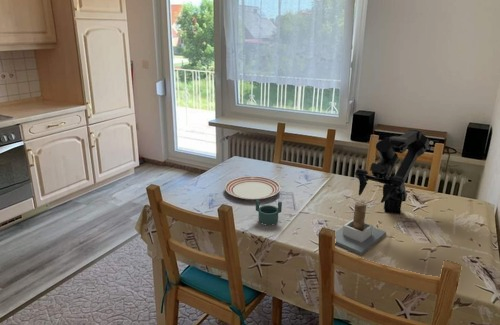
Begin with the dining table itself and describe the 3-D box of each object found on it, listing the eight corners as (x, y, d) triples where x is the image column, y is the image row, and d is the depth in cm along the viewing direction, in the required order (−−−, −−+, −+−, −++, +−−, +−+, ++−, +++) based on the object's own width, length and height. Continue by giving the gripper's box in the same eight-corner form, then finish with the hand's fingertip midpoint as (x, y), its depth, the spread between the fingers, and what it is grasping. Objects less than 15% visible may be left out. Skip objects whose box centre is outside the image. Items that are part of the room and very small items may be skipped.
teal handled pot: (283, 222, 150) (283, 202, 148) (264, 227, 146) (265, 207, 143) (270, 213, 158) (271, 194, 155) (252, 218, 153) (253, 199, 150)
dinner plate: (272, 207, 163) (272, 201, 162) (216, 199, 171) (216, 192, 170) (285, 185, 188) (286, 179, 187) (236, 179, 196) (236, 173, 195)
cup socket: (353, 222, 150) (354, 211, 149) (385, 234, 141) (387, 222, 140) (326, 240, 137) (328, 228, 135) (361, 255, 128) (362, 242, 126)
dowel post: (359, 231, 141) (363, 202, 137) (364, 236, 137) (368, 207, 133) (349, 232, 140) (353, 203, 136) (354, 237, 136) (358, 207, 132)
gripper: (359, 149, 144) (342, 182, 141) (406, 160, 132) (389, 197, 129) (366, 163, 152) (350, 194, 149) (411, 175, 140) (395, 209, 137)
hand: (370, 198), depth 140 cm, fingers open, 9 cm apart
